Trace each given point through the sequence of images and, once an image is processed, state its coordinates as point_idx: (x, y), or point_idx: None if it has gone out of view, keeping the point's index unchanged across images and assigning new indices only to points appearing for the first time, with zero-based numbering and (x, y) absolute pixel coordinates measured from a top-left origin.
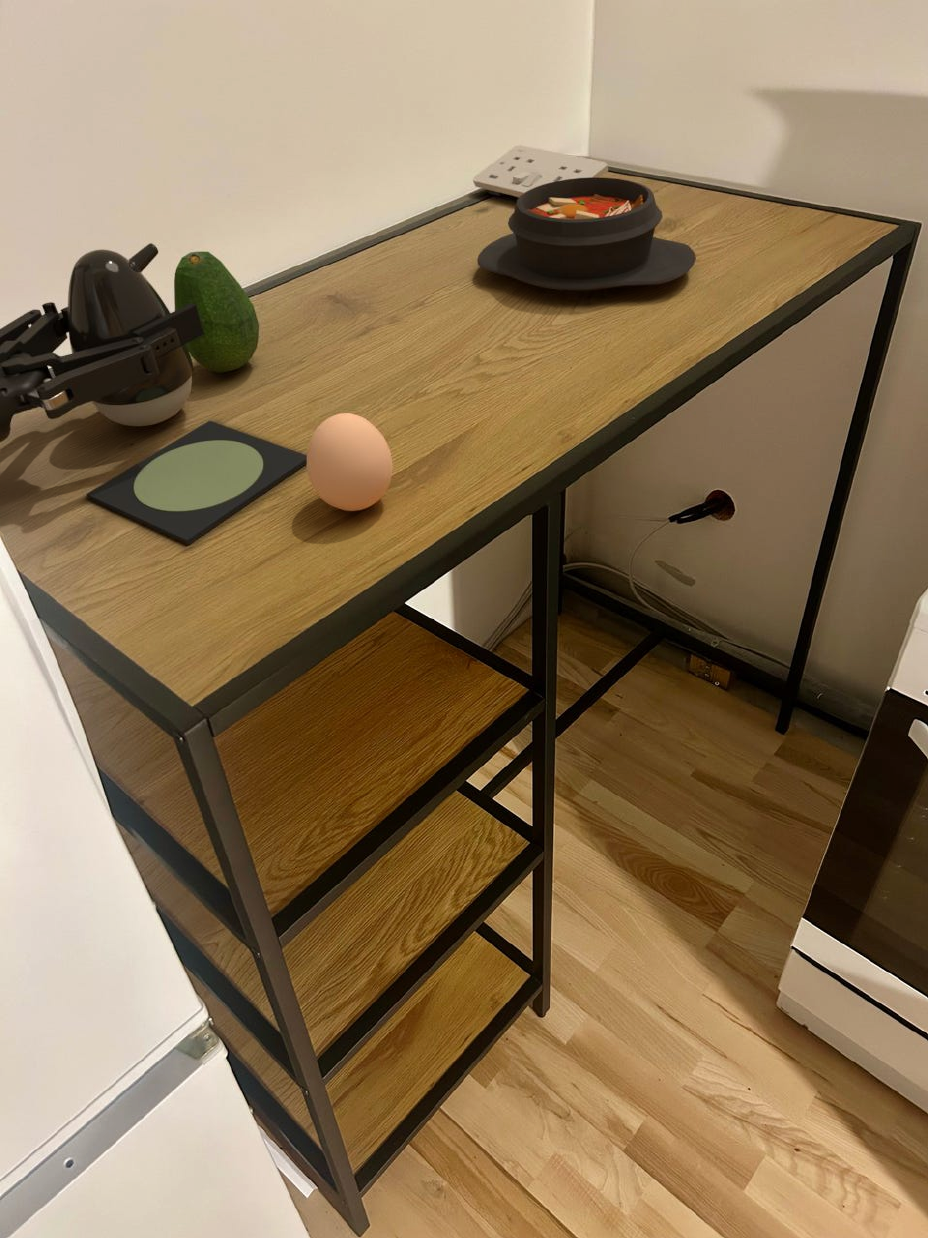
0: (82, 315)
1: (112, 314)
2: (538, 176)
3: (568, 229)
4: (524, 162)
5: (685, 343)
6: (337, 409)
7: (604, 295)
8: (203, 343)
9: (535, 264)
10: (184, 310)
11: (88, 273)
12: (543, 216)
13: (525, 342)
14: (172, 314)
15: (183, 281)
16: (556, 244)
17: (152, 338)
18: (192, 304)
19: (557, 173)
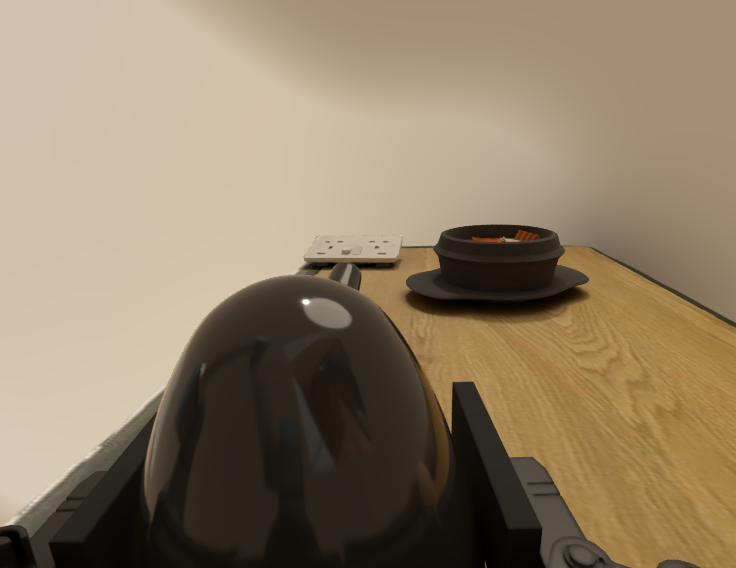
0: (320, 551)
1: (432, 489)
2: (361, 247)
3: (534, 248)
4: (337, 243)
5: (681, 314)
6: (612, 496)
7: (544, 300)
8: None
9: (496, 284)
10: (480, 401)
11: (330, 353)
12: (506, 242)
13: (584, 344)
14: (479, 420)
15: None
16: (529, 261)
17: (552, 519)
18: (464, 383)
19: (372, 244)
